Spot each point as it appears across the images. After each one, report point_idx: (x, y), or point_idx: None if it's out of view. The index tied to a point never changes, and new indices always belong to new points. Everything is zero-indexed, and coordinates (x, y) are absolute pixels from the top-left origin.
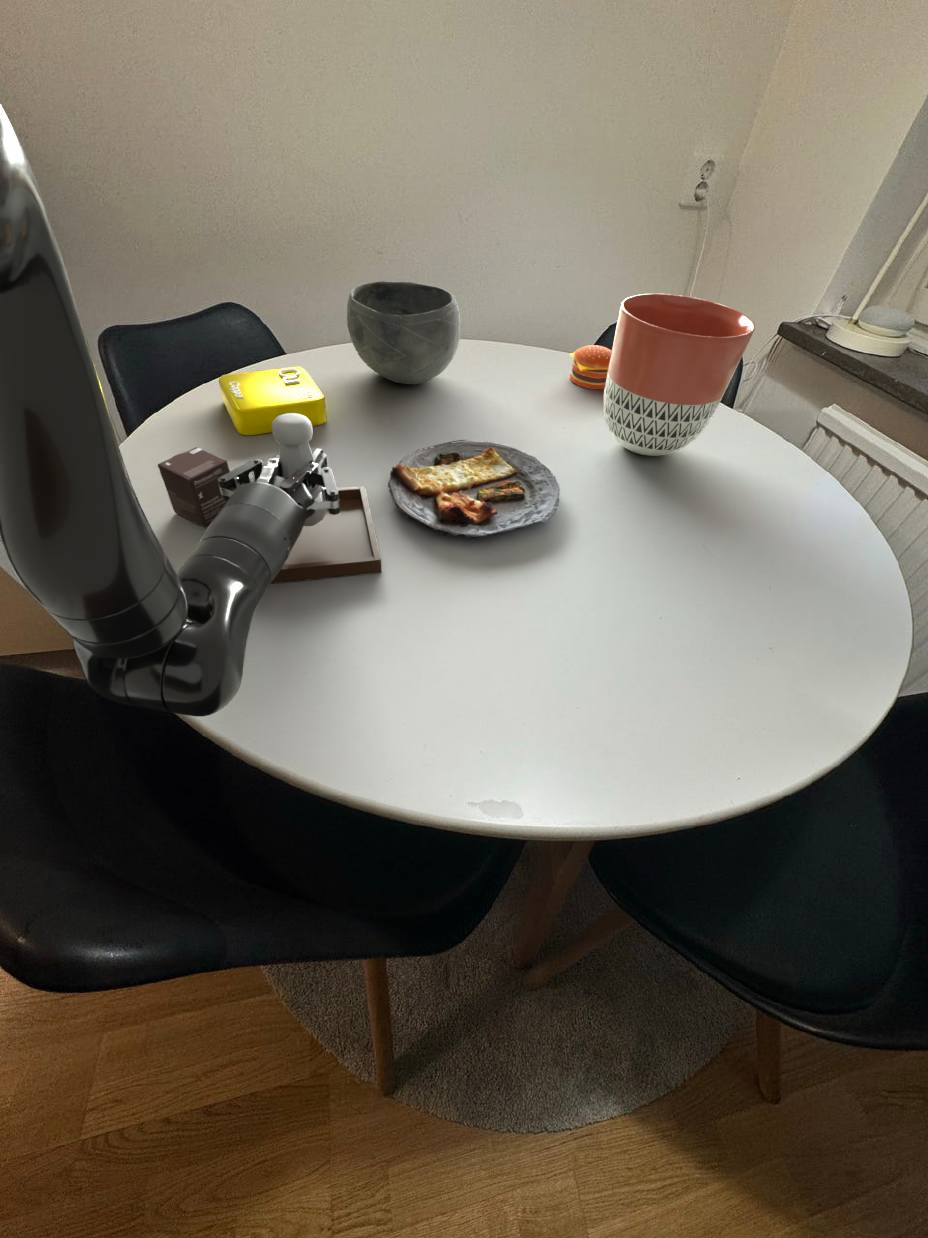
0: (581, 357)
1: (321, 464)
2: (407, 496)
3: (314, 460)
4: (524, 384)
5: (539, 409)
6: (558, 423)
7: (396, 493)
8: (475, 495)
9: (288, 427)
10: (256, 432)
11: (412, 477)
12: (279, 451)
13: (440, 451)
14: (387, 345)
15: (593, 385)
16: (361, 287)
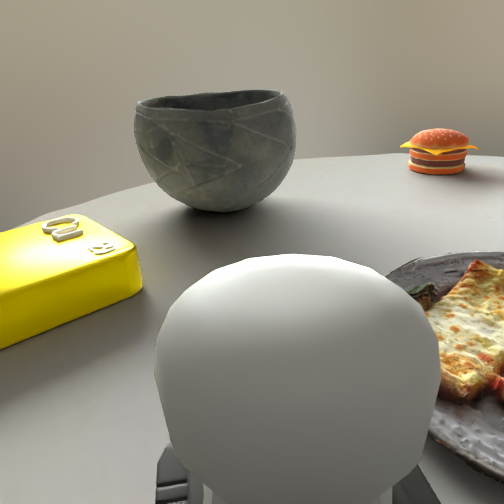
0: (429, 141)
1: (437, 502)
2: (454, 419)
3: (408, 497)
4: (372, 184)
5: (427, 203)
6: (473, 212)
7: (431, 420)
8: None
9: (350, 373)
10: (9, 341)
11: None
12: (160, 474)
13: None
14: (214, 155)
15: (451, 169)
16: (147, 102)
